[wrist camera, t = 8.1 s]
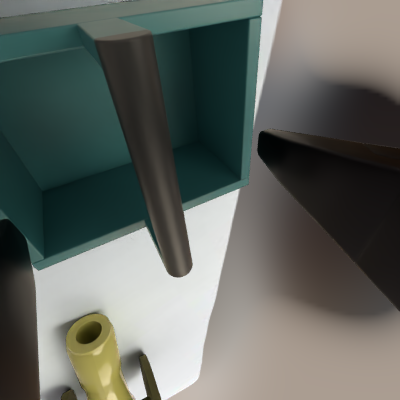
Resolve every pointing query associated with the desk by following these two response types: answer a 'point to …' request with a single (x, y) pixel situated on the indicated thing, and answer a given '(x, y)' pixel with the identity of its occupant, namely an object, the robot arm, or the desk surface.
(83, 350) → the cannon
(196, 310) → the desk surface
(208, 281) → the desk surface
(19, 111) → the teal basket
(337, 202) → the robot arm
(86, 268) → the desk surface
